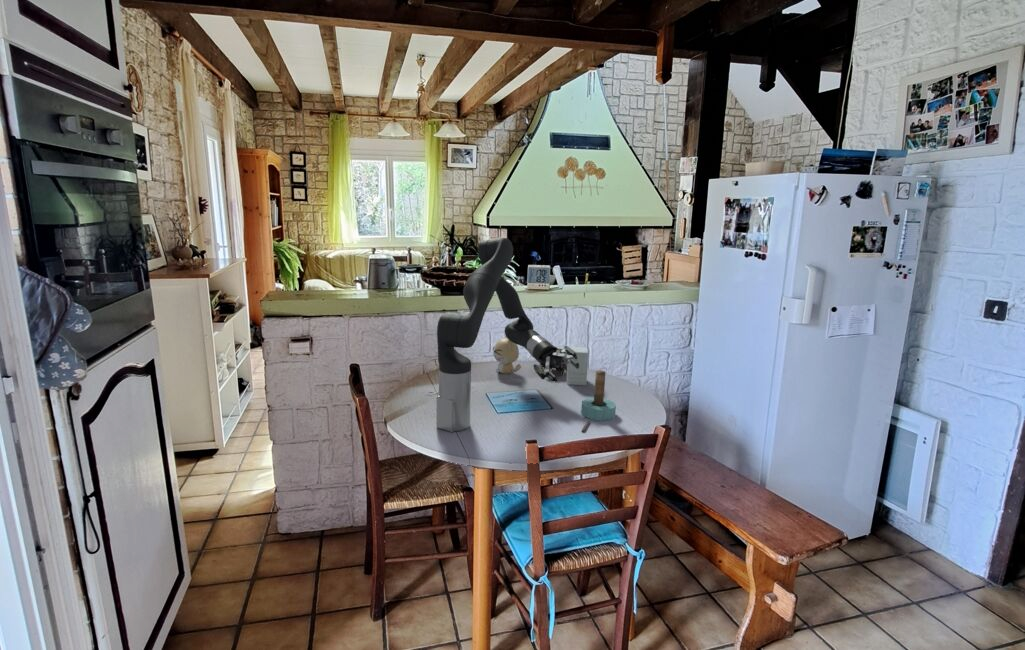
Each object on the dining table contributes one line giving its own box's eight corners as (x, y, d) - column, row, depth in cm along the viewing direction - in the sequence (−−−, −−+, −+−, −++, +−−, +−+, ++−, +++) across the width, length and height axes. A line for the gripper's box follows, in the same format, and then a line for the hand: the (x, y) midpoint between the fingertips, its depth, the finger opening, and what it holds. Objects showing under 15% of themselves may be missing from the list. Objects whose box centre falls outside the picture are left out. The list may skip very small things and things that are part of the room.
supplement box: (585, 379, 212) (587, 347, 209) (586, 385, 205) (588, 352, 202) (566, 378, 213) (568, 346, 210) (566, 384, 205) (568, 351, 203)
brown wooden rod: (599, 416, 176) (602, 373, 173) (591, 414, 177) (594, 372, 174) (604, 413, 178) (607, 371, 175) (595, 411, 180) (598, 369, 177)
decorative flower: (570, 355, 209) (536, 338, 215) (556, 383, 210) (524, 365, 216) (581, 356, 222) (550, 340, 228) (569, 383, 223) (538, 366, 229)
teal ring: (605, 423, 171) (606, 412, 170) (575, 414, 177) (576, 404, 176) (620, 413, 179) (620, 402, 178) (590, 405, 185) (591, 395, 184)
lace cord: (584, 432, 163) (584, 430, 163) (581, 431, 164) (581, 429, 163) (589, 422, 171) (590, 420, 170) (587, 422, 171) (587, 420, 171)
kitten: (489, 366, 224) (490, 330, 221) (513, 366, 226) (515, 330, 223) (495, 378, 210) (496, 339, 206) (521, 377, 212) (523, 339, 208)
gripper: (521, 352, 188) (546, 376, 176) (556, 331, 192) (582, 353, 179) (527, 368, 193) (551, 392, 180) (561, 347, 196) (587, 370, 183)
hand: (567, 373), depth 180 cm, fingers open, 8 cm apart
